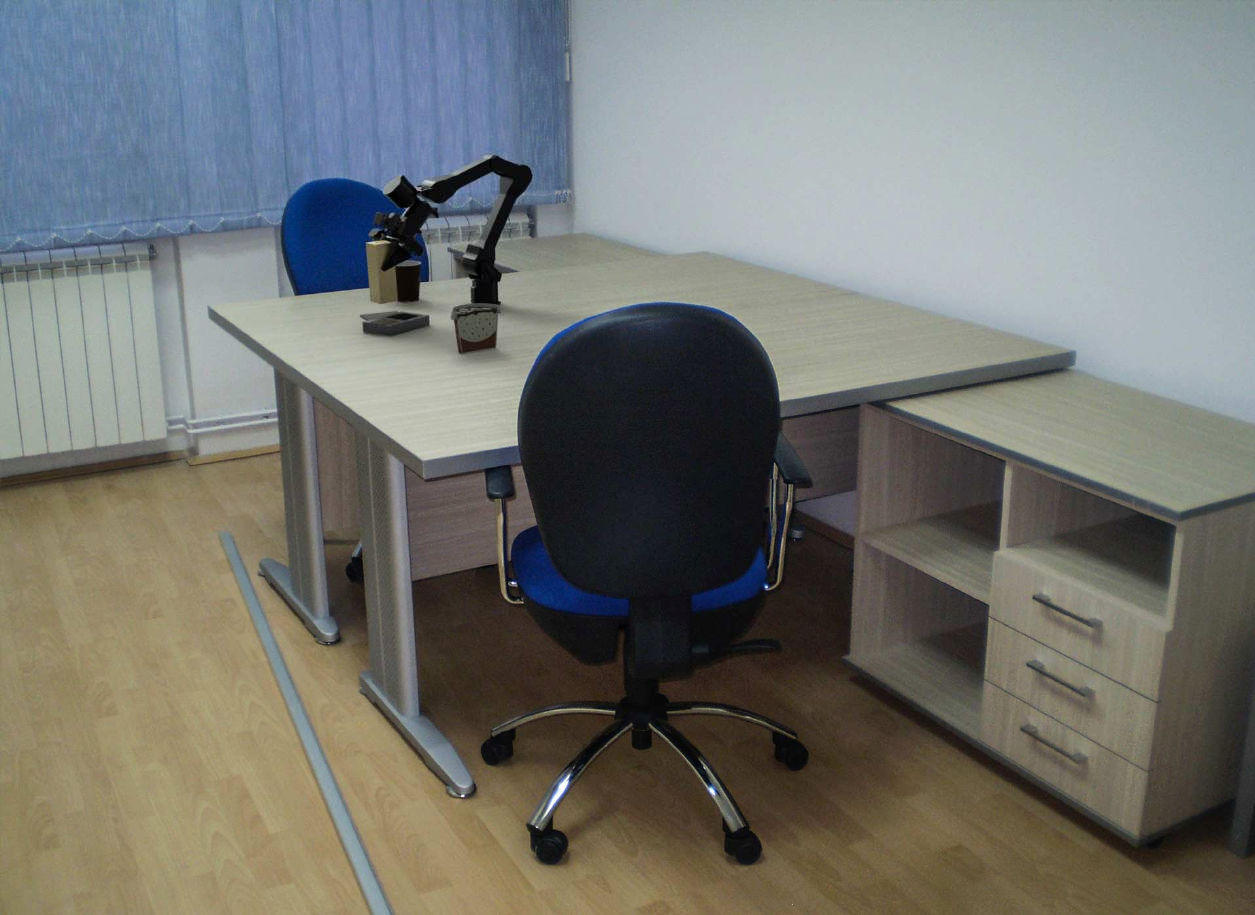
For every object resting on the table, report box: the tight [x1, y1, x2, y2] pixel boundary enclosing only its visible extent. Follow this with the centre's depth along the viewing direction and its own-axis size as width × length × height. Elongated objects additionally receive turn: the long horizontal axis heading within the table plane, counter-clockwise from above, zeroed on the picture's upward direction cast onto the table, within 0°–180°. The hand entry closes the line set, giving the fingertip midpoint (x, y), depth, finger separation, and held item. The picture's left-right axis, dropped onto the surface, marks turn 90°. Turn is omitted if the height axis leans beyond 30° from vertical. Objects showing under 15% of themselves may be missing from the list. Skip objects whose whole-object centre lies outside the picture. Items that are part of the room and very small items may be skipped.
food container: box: [450, 303, 501, 355], centre depth 293 cm, size 12×6×10 cm, turn 129°
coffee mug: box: [395, 260, 422, 303], centre depth 348 cm, size 12×9×10 cm
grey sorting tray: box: [361, 311, 431, 337], centre depth 314 cm, size 14×9×3 cm, turn 149°
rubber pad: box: [359, 310, 399, 321], centre depth 326 cm, size 10×10×1 cm
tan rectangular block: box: [365, 240, 398, 305], centre depth 322 cm, size 5×5×15 cm
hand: (377, 269), depth 321 cm, fingers closed on tan rectangular block, 5 cm apart
